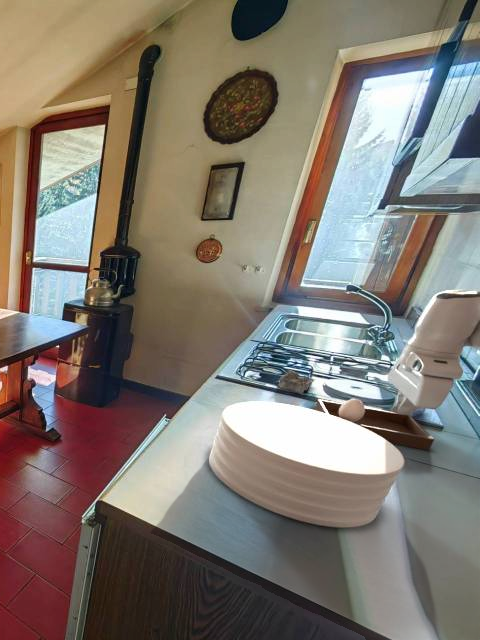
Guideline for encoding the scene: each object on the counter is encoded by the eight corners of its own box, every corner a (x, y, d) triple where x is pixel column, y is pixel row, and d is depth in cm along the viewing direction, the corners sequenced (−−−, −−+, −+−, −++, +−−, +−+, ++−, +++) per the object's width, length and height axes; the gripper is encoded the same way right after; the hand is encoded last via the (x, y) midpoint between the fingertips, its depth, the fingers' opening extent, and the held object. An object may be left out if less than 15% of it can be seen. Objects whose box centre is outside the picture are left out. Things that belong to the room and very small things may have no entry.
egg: (344, 416, 107) (353, 394, 105) (363, 425, 103) (374, 402, 100) (330, 418, 106) (339, 396, 104) (349, 427, 102) (360, 404, 99)
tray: (405, 425, 104) (410, 415, 103) (428, 450, 93) (434, 439, 92) (314, 408, 113) (318, 399, 112) (325, 429, 102) (329, 419, 100)
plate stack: (180, 457, 89) (192, 413, 85) (261, 435, 99) (276, 394, 94) (320, 545, 65) (346, 490, 61) (409, 504, 75) (438, 454, 70)
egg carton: (287, 379, 133) (291, 368, 132) (314, 387, 127) (319, 375, 126) (273, 386, 128) (277, 374, 126) (301, 394, 122) (305, 382, 120)
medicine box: (410, 418, 108) (425, 389, 104) (389, 411, 112) (403, 383, 108) (424, 413, 111) (438, 385, 107) (403, 406, 115) (416, 379, 111)
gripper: (393, 345, 103) (370, 392, 108) (426, 369, 86) (398, 423, 92) (427, 349, 100) (402, 398, 105) (467, 375, 84) (435, 430, 89)
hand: (400, 410), depth 98 cm, fingers closed
